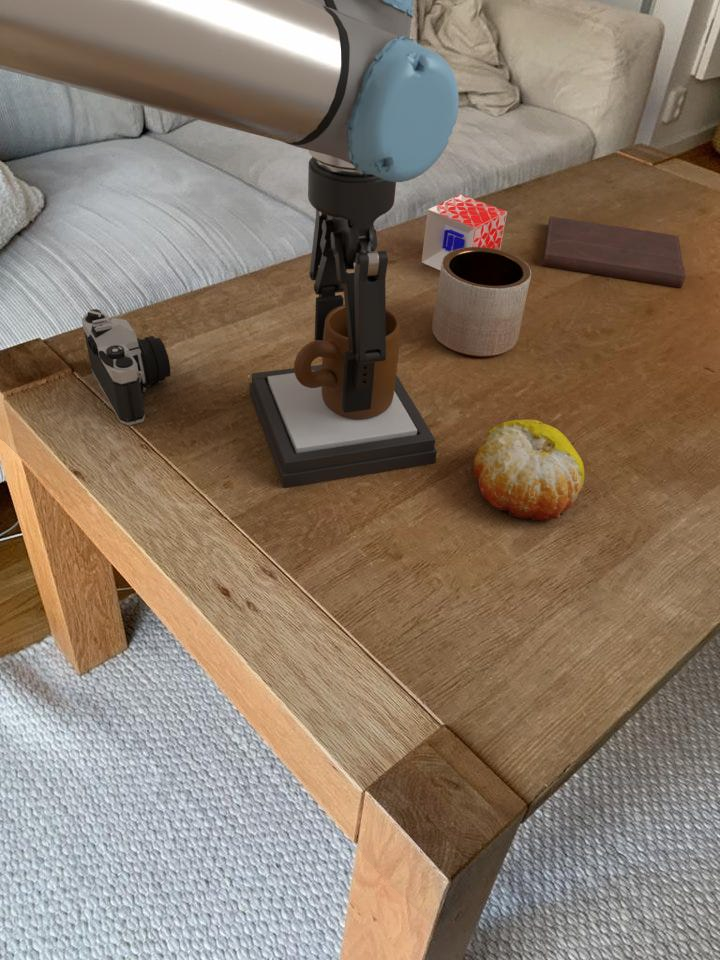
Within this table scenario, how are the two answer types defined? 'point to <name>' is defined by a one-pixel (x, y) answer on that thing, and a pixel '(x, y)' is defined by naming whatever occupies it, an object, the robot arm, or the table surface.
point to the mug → (334, 364)
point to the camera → (123, 363)
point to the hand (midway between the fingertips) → (341, 379)
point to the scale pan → (330, 418)
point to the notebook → (614, 251)
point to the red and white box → (461, 228)
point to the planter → (480, 301)
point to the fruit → (529, 470)
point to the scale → (342, 458)
